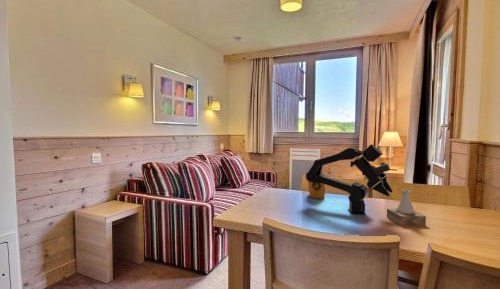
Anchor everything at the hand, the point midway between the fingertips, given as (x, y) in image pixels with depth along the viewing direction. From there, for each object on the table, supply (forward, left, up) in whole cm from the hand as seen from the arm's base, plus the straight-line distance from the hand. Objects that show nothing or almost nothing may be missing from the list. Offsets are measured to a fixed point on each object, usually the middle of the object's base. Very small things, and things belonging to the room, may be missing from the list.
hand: (390, 193), depth 121 cm
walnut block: (+5, -4, -12) cm, 13 cm away
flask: (+5, -4, -8) cm, 10 cm away
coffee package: (-24, +40, -12) cm, 48 cm away
